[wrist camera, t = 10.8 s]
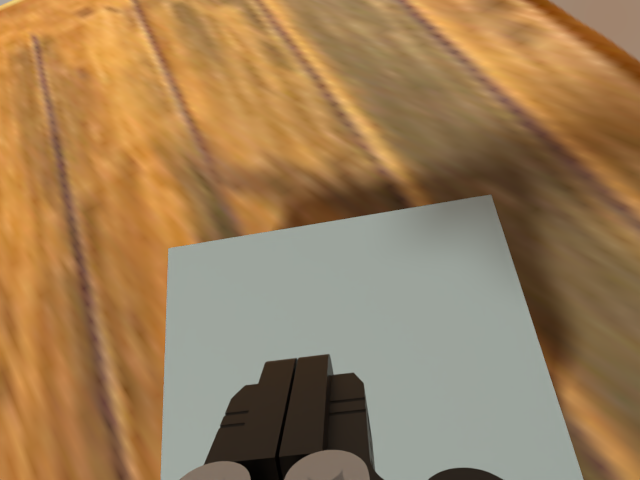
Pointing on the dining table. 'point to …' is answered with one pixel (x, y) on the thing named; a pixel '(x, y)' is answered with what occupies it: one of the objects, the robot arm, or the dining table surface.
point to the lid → (371, 339)
